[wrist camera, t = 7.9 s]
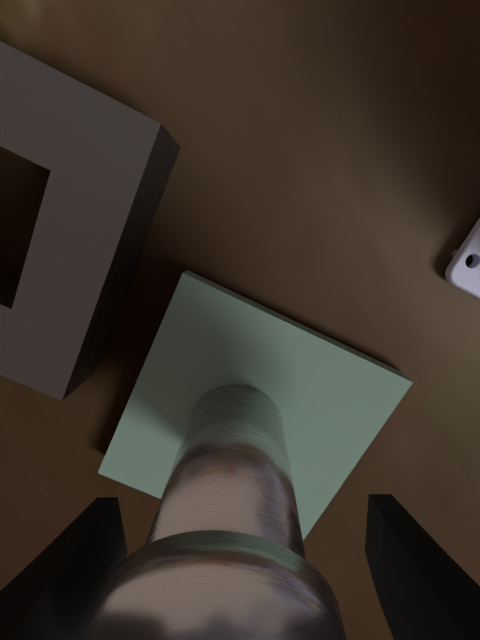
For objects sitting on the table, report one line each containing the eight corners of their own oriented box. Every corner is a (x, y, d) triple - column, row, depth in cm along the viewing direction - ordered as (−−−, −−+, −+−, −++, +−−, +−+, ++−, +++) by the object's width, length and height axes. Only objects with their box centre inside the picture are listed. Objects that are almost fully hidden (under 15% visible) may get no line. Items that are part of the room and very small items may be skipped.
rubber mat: (187, 270, 13) (182, 272, 12) (401, 371, 13) (412, 382, 12) (107, 457, 15) (97, 472, 14) (291, 534, 16) (293, 553, 15)
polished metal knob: (168, 377, 13) (42, 593, 5) (291, 368, 12) (357, 582, 5) (186, 479, 14) (105, 777, 6) (297, 473, 14) (358, 777, 6)
